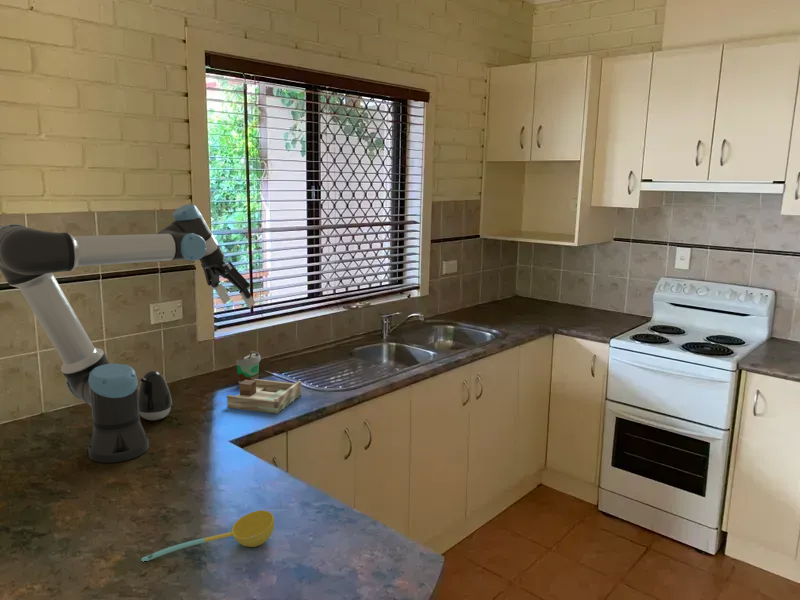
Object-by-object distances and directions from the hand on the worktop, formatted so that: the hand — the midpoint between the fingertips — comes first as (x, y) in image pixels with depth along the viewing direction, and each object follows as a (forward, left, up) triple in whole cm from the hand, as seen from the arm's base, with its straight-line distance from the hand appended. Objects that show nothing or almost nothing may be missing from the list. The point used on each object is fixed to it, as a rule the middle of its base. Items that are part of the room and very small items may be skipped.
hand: (239, 303), depth 206 cm
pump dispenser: (-25, +16, -33) cm, 44 cm away
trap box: (-2, -10, -33) cm, 34 cm away
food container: (+14, +4, -33) cm, 36 cm away
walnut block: (-2, -3, -31) cm, 31 cm away
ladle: (-80, -39, -33) cm, 95 cm away
